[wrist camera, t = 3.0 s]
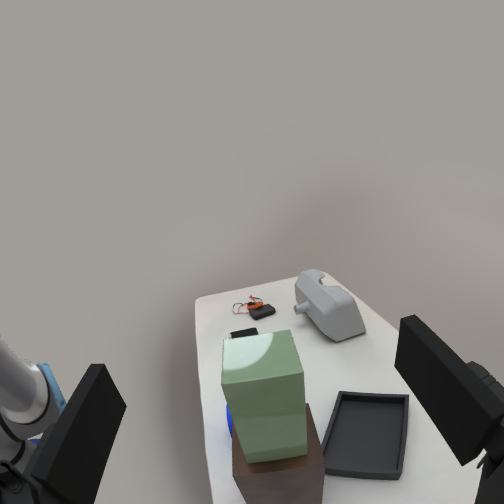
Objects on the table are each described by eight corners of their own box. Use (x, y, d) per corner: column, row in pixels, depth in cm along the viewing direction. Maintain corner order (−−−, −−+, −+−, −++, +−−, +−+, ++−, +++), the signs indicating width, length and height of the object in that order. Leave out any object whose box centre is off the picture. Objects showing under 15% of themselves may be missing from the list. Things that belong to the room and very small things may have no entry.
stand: (259, 526, 27) (232, 476, 21) (255, 483, 36) (231, 414, 30) (319, 517, 27) (325, 462, 21) (310, 474, 36) (308, 402, 30)
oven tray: (313, 472, 36) (313, 465, 35) (338, 398, 52) (339, 390, 51) (398, 480, 30) (401, 473, 29) (406, 402, 45) (409, 394, 45)
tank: (284, 309, 93) (280, 274, 89) (328, 298, 95) (327, 263, 92) (314, 351, 69) (311, 309, 65) (367, 333, 72) (369, 292, 68)
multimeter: (226, 302, 104) (224, 294, 103) (257, 294, 107) (256, 285, 106) (241, 325, 88) (239, 315, 87) (276, 314, 91) (275, 304, 90)
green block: (247, 463, 23) (220, 384, 19) (245, 422, 28) (223, 339, 25) (307, 454, 23) (303, 371, 19) (297, 414, 28) (290, 329, 25)
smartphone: (235, 363, 68) (229, 332, 82) (236, 367, 68) (229, 336, 82) (267, 356, 69) (256, 326, 83) (268, 360, 69) (256, 330, 83)
